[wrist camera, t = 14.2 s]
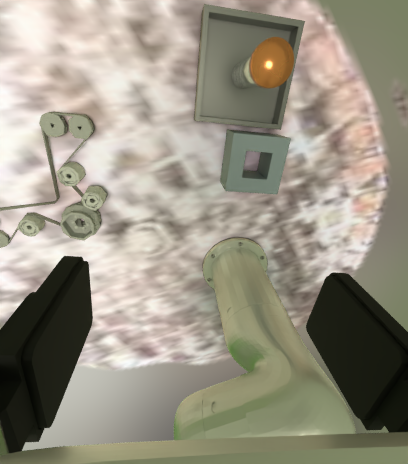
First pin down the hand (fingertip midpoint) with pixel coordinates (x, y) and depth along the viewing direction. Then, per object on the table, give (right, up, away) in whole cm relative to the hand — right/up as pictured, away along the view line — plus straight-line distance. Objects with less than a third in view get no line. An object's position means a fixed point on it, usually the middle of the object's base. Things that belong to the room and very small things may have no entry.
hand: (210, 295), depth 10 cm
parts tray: (+5, +24, +25) cm, 35 cm away
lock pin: (+5, +24, +24) cm, 34 cm away
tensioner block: (+7, +14, +30) cm, 34 cm away
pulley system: (-24, +8, +31) cm, 40 cm away
